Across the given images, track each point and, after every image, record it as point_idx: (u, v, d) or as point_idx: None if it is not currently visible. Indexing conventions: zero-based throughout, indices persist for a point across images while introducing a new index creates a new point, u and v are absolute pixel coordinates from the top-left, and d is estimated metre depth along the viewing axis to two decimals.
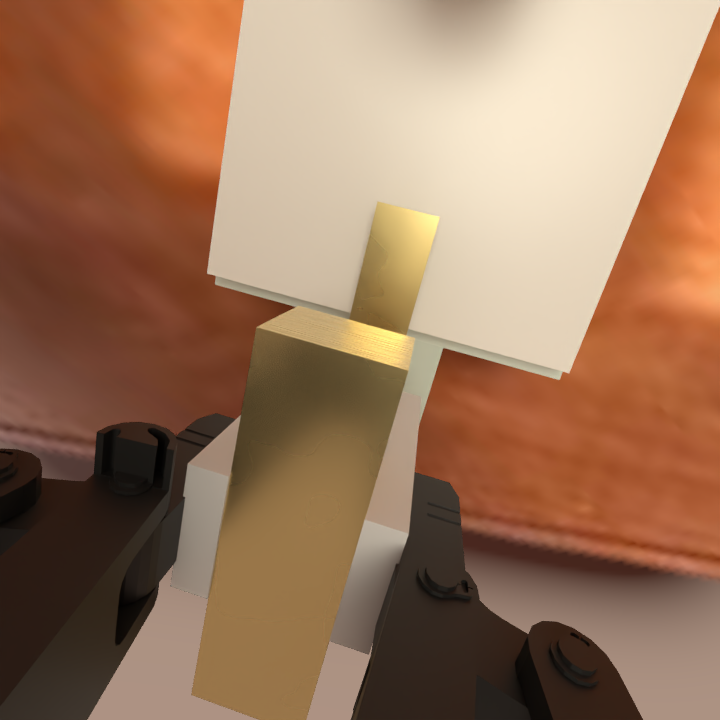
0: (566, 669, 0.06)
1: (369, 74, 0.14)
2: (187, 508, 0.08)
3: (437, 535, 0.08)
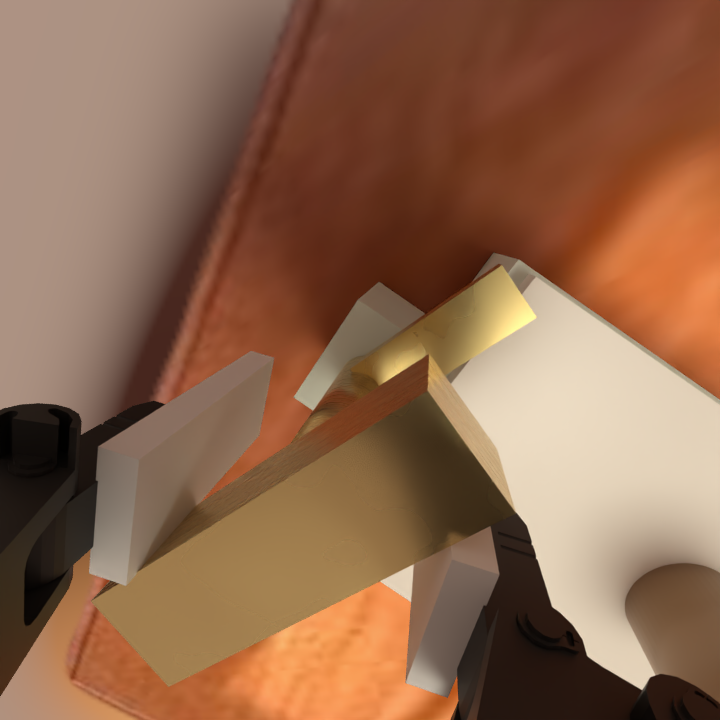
0: None
1: (623, 495, 0.16)
2: (101, 492, 0.08)
3: (517, 571, 0.08)
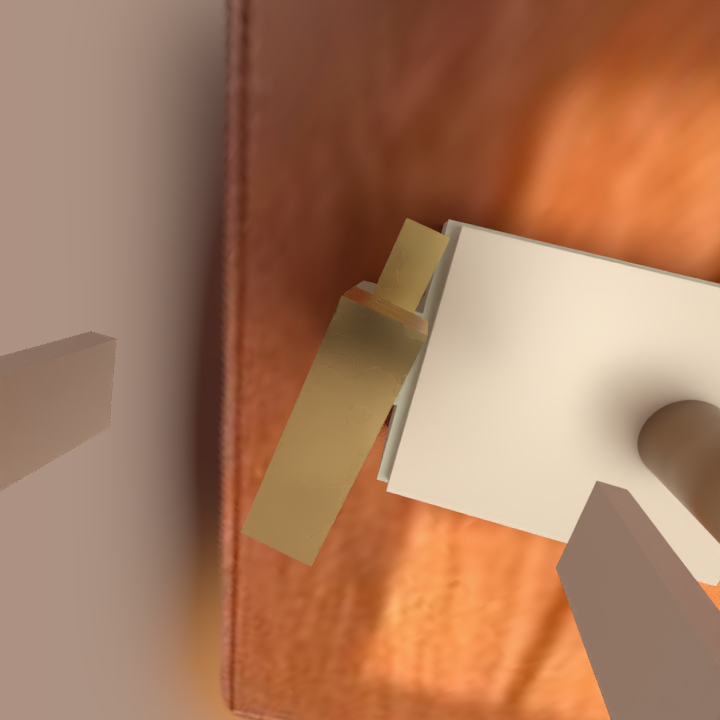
0: None
1: (598, 366, 0.20)
2: None
3: None
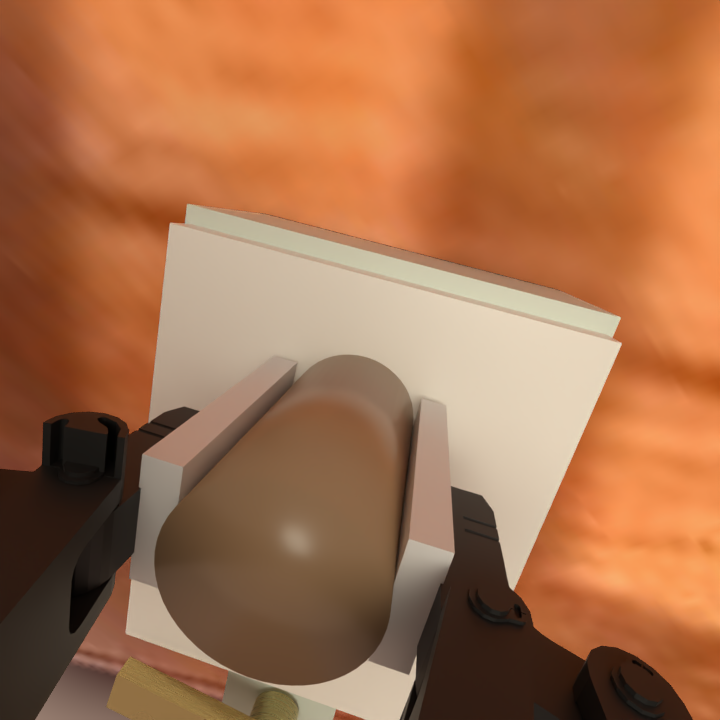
0: (630, 698, 0.05)
1: None
2: (143, 499, 0.08)
3: (477, 552, 0.08)
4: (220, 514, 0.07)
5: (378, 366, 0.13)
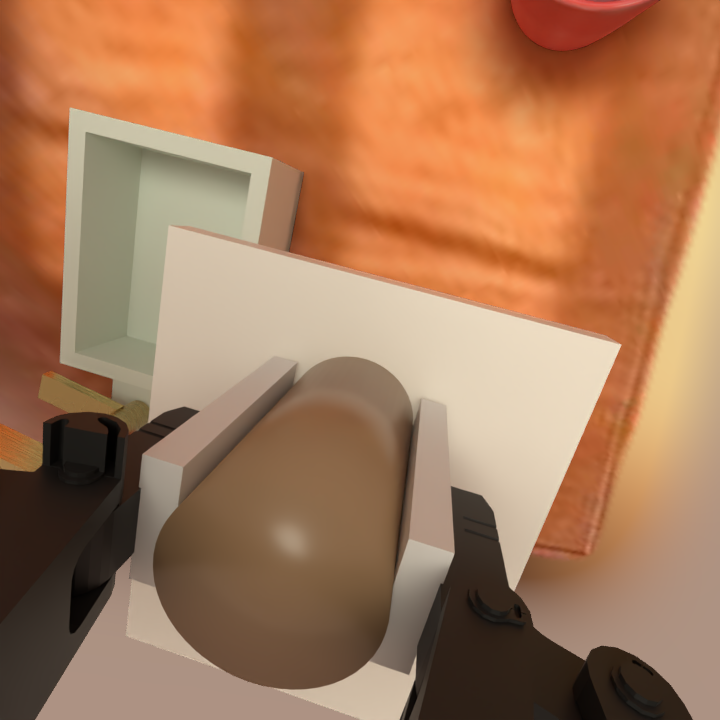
0: (630, 698, 0.05)
1: None
2: (143, 499, 0.08)
3: (478, 552, 0.08)
4: (218, 519, 0.07)
5: (377, 368, 0.13)
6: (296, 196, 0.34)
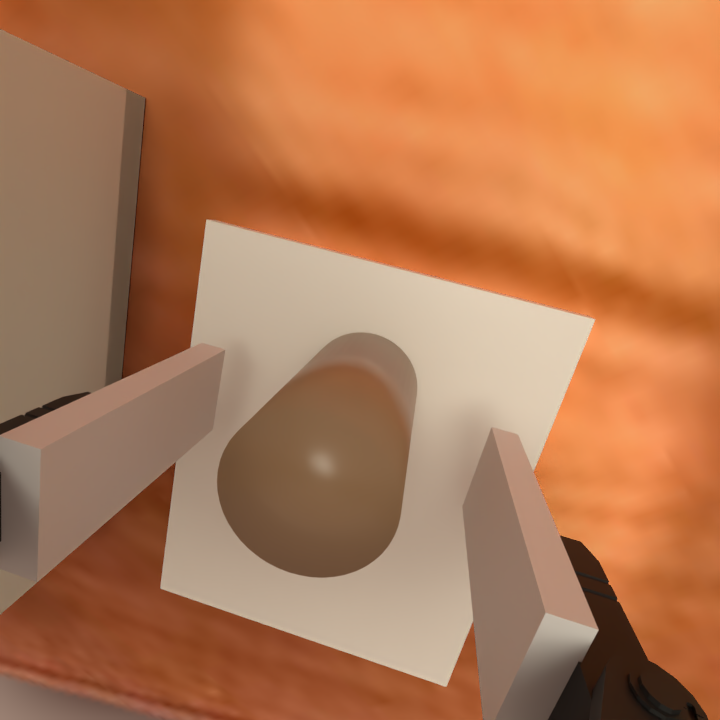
0: None
1: None
2: (5, 484, 0.07)
3: (602, 617, 0.07)
4: (270, 438, 0.09)
5: (386, 341, 0.15)
6: (128, 149, 0.15)
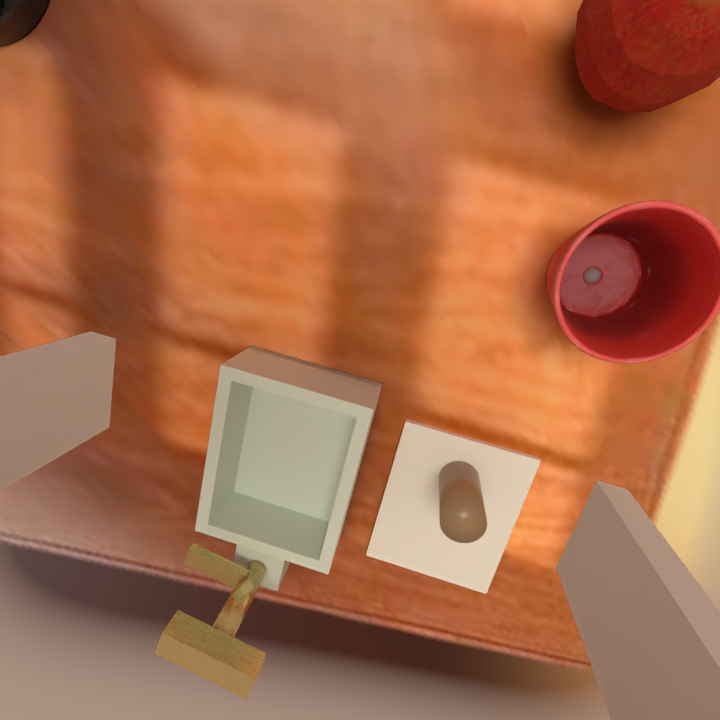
0: None
1: (423, 511, 0.47)
2: None
3: None
4: (455, 509, 0.38)
5: (469, 465, 0.44)
6: (377, 402, 0.45)
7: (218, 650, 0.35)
